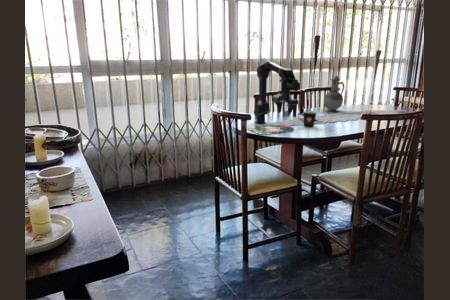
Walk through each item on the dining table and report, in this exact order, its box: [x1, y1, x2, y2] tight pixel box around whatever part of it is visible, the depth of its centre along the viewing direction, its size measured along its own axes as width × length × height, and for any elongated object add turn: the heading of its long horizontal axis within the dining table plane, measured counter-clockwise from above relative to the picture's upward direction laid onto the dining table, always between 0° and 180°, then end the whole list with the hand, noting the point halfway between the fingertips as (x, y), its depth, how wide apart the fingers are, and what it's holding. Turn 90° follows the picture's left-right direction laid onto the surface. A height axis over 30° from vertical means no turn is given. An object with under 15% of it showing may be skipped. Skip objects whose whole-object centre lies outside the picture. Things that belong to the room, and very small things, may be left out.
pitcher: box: [323, 75, 345, 113], centre depth 276 cm, size 11×19×30 cm, turn 119°
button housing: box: [279, 126, 295, 132], centre depth 213 cm, size 6×6×2 cm
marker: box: [254, 124, 266, 132], centre depth 209 cm, size 9×2×2 cm, turn 26°
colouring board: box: [247, 125, 285, 134], centre depth 211 cm, size 16×18×1 cm
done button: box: [282, 124, 291, 129], centre depth 212 cm, size 5×5×2 cm
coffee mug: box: [297, 110, 317, 128], centre depth 224 cm, size 12×9×10 cm
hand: (284, 113), depth 209 cm, fingers open, 9 cm apart
